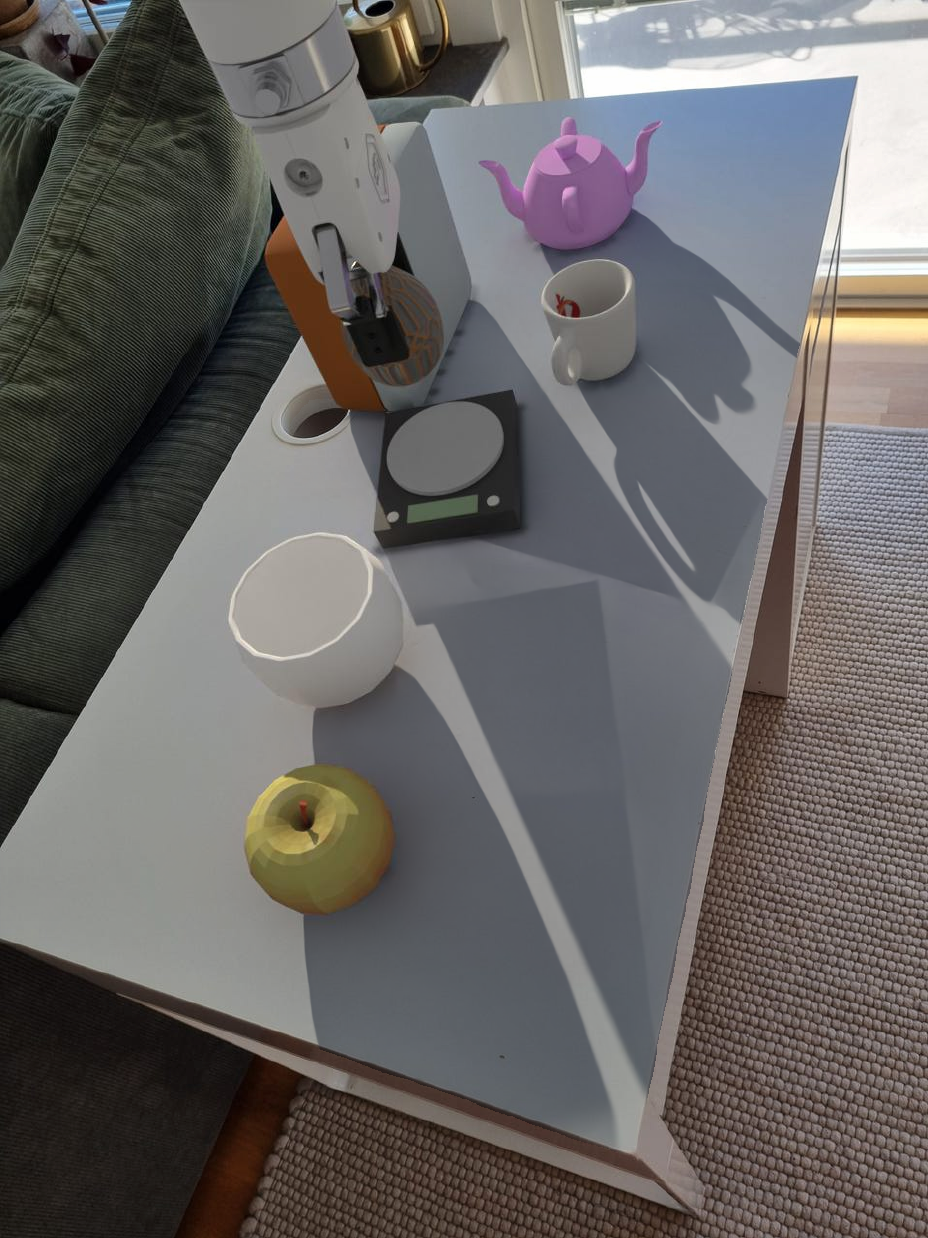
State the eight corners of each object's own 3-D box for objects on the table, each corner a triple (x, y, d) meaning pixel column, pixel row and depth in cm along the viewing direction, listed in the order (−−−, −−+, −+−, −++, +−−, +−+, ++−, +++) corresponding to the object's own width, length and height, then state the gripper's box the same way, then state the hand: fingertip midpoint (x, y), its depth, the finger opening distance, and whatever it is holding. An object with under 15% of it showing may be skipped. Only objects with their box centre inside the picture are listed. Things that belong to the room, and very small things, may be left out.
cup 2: (608, 421, 81) (594, 350, 75) (528, 405, 85) (509, 336, 79) (658, 337, 85) (649, 263, 79) (580, 325, 89) (565, 253, 83)
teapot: (497, 237, 100) (476, 160, 93) (592, 167, 103) (579, 86, 96) (570, 276, 93) (554, 196, 86) (670, 200, 96) (663, 116, 89)
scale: (518, 408, 85) (511, 383, 83) (520, 528, 77) (512, 505, 75) (393, 431, 88) (382, 407, 85) (382, 549, 80) (370, 527, 78)
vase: (444, 322, 70) (407, 218, 63) (463, 380, 66) (426, 275, 59) (357, 355, 70) (311, 255, 63) (371, 414, 66) (324, 315, 59)
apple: (409, 784, 67) (371, 734, 61) (407, 921, 62) (365, 882, 55) (282, 800, 69) (232, 754, 63) (269, 935, 64) (213, 899, 57)
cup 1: (436, 597, 76) (398, 522, 68) (406, 735, 69) (360, 670, 62) (299, 598, 80) (248, 528, 72) (258, 729, 73) (198, 668, 65)
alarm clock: (400, 288, 100) (328, 98, 83) (477, 287, 96) (417, 88, 80) (338, 416, 91) (244, 231, 75) (420, 419, 88) (340, 226, 71)
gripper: (333, 130, 45) (439, 401, 59) (362, -31, 55) (447, 235, 69) (193, 168, 47) (328, 422, 61) (245, 6, 56) (351, 257, 71)
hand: (390, 321), depth 65 cm, fingers closed on vase, 6 cm apart
